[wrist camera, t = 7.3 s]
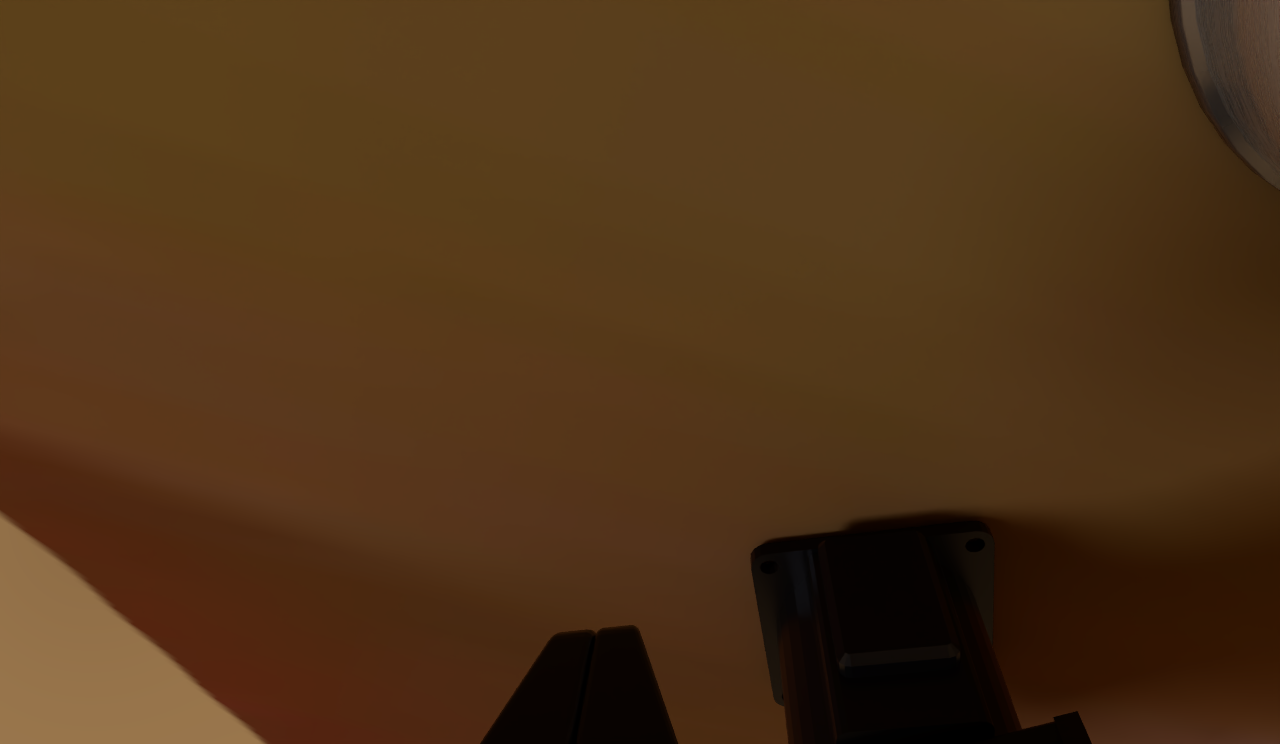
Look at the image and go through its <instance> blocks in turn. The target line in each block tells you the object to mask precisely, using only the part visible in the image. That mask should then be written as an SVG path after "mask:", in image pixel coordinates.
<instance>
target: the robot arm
mask: <svg viewBox="0 0 1280 744" xmlns="http://www.w3.org/2000/svg"><path fill="white" fill-rule="evenodd" d="M974 538H979V539H977V540H976V541H973V542H968V541H969V540H970V539H974ZM994 544H995V543H994V539H993V536H992V534H991V532H990V529H989V527H988V526H987V525H986V524H984V523H982V522H979V521H968V522H959V523H950V524H941V525H932V526H923V527H914V528H905V529H896V530H887V531H878V532H869V533H860V534H851V535H842V536H833V537H824V538H815V539H806V540H797V541H788V542H779V543H770V544H764V545H760V546H758V547H757V548H755V549H754V550H753V552H752V553H751V570H752V576H753V582H754V587H755V593H756V599H757V605H758V610H759V616H760V622H761V628H762V633H763V639H764V645H765V651H766V656H767V662H768V668H769V674H770V679H771V685H772V691H773V697H774V700H775V702H777V703H778V704H779V705H782V706H784V707H785V716H786V726H787V735H788V744H1092V743H1091V741H1090V738H1089V736H1088V734H1087V732H1086V729H1085V727H1084V725H1083V723H1082V720H1081V718H1080V716H1079V713H1078V711H1076V712H1072V713H1068V714H1064V715H1060V716H1056V717H1053V718H1054V720H1055V721H1054V722H1050V723H1046V724H1042V725H1038V726H1034V727H1030V728H1026V729H1022V728H1021V725H1020V722H1019V719H1018V717H1017V714H1016V711H1015V708H1014V705H1013V703H1012V700H1011V697H1010V694H1009V692H1008V689H1007V686H1006V683H1005V680H1004V678H1003V675H1002V672H1001V669H1000V666H999V664H998V661H997V658H996V655H995V653H994V650H993V599H994ZM768 560H769V561H774V563H770V564H766V563H763V562H765V561H768ZM480 744H678V742H677V739H676V736H675V733H674V730H673V727H672V724H671V721H670V719H669V716H668V713H667V710H666V707H665V704H664V701H663V698H662V695H661V692H660V689H659V686H658V683H657V680H656V678H655V675H654V672H653V669H652V666H651V663H650V660H649V657H648V654H647V651H646V648H645V645H644V642H643V639H642V636H641V634H640V631H639V629H638V628H637V627H636V626H634V625H628V626H618V627H608V628H602V629H600V630H599V631H598V632H597V633H595V632H594V631H593V630H578V631H568V632H560V633H557V634H555V635H554V636H553V637H551V639H550V640H549V641H548V643H547V644H546V646H545V647H544V649H543V650H542V652H541V653H540V655H539V656H538V658H537V659H536V661H535V662H534V664H533V665H532V667H531V668H530V670H529V671H528V673H527V674H526V676H525V677H524V679H523V680H522V682H521V683H520V685H519V686H518V688H517V689H516V691H515V692H514V694H513V695H512V697H511V698H510V700H509V701H508V703H507V704H506V706H505V707H504V709H503V710H502V712H501V713H500V715H499V716H498V718H497V719H496V721H495V722H494V724H493V725H492V727H491V728H490V730H489V731H488V733H487V734H486V736H485V737H484V739H483V740H482V742H481V743H480Z"/></svg>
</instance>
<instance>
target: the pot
mask: <svg viewBox="0 0 1280 744" xmlns="http://www.w3.org/2000/svg"><path fill="white" fill-rule="evenodd" d="M1169 6H1170V16H1171V22H1172V26H1173V30H1174V34H1175V38H1176V42H1177V46H1178V50H1179V54H1180V58H1181V62H1182V66H1183V68H1184V70H1185V73H1186V75H1187V77H1188V80H1189V82H1190V84H1191V86H1192V89H1193V91H1194V93H1195V96H1196V98H1197V100H1198V102H1199V105H1200V107H1201V108H1202V110H1203V111H1204V113H1205V114H1206V116H1207V117H1208V119H1209V120H1210V122H1211V123H1212V125H1213V126H1214V128H1215V129H1216V131H1217V132H1218V134H1219V135H1220V137H1221V138H1222V140H1223V141H1224V142H1225V143H1226V145H1227V146H1228V147H1229V148H1230V149H1231V150H1232V151H1233V152H1234V153H1235V154H1236V155H1237V156H1238V157H1239V158H1240V159H1241V160H1242V161H1243V162H1244V163H1245V164H1246V165H1247V166H1248V167H1249V168H1250V169H1251V170H1252V171H1253V172H1254V173H1256V174H1257V175H1259V176H1260V177H1261V178H1263V179H1264V180H1266V181H1267V182H1268V183H1270V184H1271V185H1273V186H1274V187H1275V188H1277V189H1278V190H1280V0H1169Z"/></svg>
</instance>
